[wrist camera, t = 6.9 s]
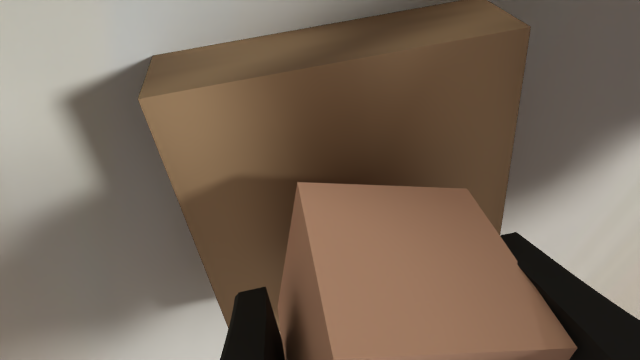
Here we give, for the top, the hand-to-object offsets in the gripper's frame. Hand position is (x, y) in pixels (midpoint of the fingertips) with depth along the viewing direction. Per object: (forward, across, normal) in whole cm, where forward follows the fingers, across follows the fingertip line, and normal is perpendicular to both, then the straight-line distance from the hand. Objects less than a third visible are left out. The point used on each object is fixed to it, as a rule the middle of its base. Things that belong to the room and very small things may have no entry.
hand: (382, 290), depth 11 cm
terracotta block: (+1, 0, 0) cm, 1 cm away
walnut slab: (+6, 0, 0) cm, 6 cm away
